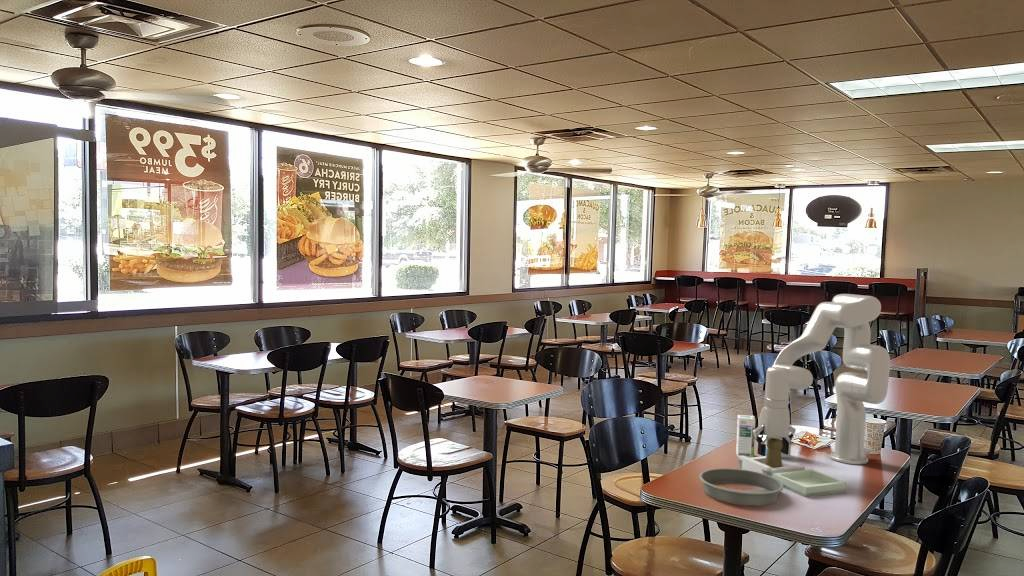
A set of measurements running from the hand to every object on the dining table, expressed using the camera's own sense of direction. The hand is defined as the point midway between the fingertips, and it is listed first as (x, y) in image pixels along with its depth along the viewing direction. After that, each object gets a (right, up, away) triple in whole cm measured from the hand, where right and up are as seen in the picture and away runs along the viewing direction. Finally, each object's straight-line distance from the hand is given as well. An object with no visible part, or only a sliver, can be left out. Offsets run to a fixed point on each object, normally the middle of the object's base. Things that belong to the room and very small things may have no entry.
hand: (772, 454), depth 247 cm
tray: (+6, -7, -15) cm, 18 cm away
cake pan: (-18, -7, -23) cm, 30 cm away
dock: (0, -6, +1) cm, 6 cm away
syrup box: (-4, -5, +18) cm, 19 cm away
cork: (0, -6, +1) cm, 6 cm away
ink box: (+9, -5, +20) cm, 23 cm away
